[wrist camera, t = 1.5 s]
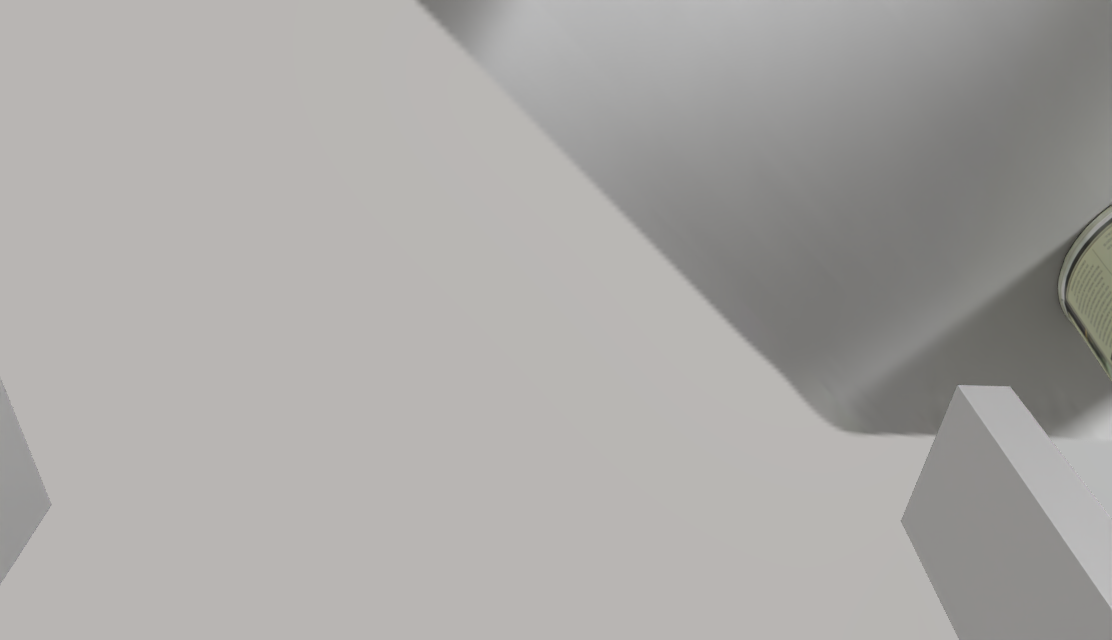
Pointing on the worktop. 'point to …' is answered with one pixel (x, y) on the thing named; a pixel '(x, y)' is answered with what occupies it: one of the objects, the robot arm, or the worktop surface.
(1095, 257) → the coffee can
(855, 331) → the worktop surface
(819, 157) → the worktop surface
